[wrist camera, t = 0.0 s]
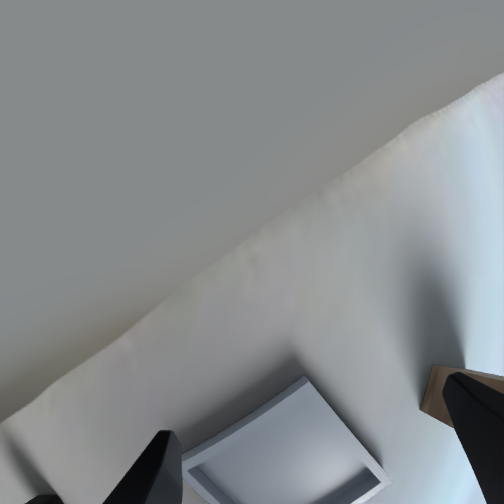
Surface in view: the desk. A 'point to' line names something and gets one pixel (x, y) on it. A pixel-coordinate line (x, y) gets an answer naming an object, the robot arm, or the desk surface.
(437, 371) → the walnut block
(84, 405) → the desk surface
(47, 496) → the battery
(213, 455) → the tray
